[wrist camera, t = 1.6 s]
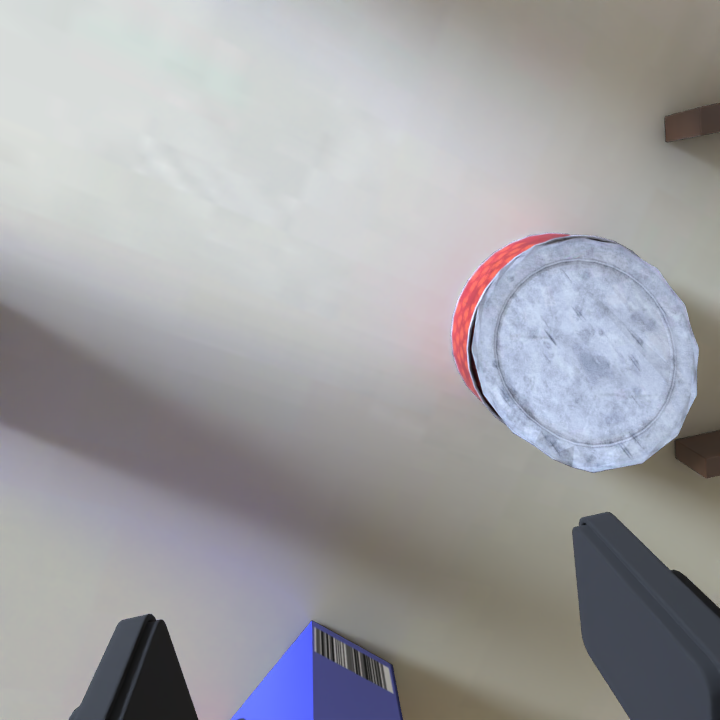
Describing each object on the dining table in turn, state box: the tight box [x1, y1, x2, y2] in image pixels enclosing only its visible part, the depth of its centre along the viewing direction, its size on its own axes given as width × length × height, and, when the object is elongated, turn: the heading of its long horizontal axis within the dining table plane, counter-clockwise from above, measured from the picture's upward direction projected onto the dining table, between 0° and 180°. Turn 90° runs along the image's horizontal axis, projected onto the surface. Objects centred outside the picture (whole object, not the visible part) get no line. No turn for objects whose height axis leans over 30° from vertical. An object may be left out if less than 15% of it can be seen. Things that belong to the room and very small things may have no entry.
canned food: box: [451, 233, 699, 473], centre depth 26 cm, size 11×10×10 cm
